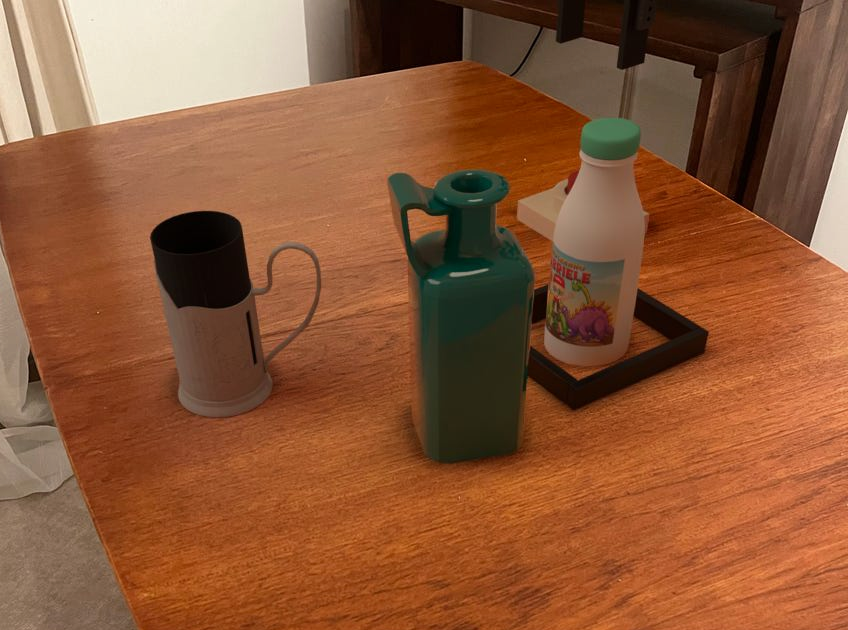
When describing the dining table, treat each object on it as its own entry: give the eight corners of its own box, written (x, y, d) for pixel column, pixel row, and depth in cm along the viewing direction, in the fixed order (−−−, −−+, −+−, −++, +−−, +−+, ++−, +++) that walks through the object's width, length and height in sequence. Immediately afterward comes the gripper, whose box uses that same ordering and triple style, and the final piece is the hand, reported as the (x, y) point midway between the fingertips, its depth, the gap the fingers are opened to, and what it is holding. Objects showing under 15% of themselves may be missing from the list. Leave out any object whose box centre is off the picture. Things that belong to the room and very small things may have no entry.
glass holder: (186, 363, 97) (152, 208, 85) (334, 359, 96) (320, 202, 85) (170, 418, 91) (132, 260, 80) (328, 414, 90) (312, 254, 79)
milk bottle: (579, 319, 98) (604, 99, 83) (644, 349, 94) (682, 124, 79) (525, 352, 95) (541, 129, 80) (591, 385, 91) (620, 156, 76)
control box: (646, 233, 108) (652, 196, 105) (580, 259, 106) (584, 221, 103) (580, 196, 115) (584, 160, 112) (516, 219, 112) (518, 183, 109)
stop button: (608, 195, 107) (610, 178, 106) (581, 204, 106) (583, 188, 105) (586, 183, 109) (588, 166, 108) (559, 192, 108) (561, 176, 107)
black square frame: (703, 360, 92) (709, 331, 90) (572, 418, 88) (576, 389, 85) (595, 292, 101) (598, 263, 99) (472, 341, 96) (472, 313, 94)
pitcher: (502, 400, 90) (515, 145, 73) (528, 459, 84) (548, 197, 68) (393, 417, 89) (382, 163, 73) (412, 477, 83) (405, 216, 67)
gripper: (512, -267, 85) (501, 32, 102) (690, -241, 73) (643, 95, 90) (582, -280, 88) (560, 15, 105) (766, -256, 75) (706, 74, 92)
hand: (598, 51), depth 97 cm, fingers open, 8 cm apart
